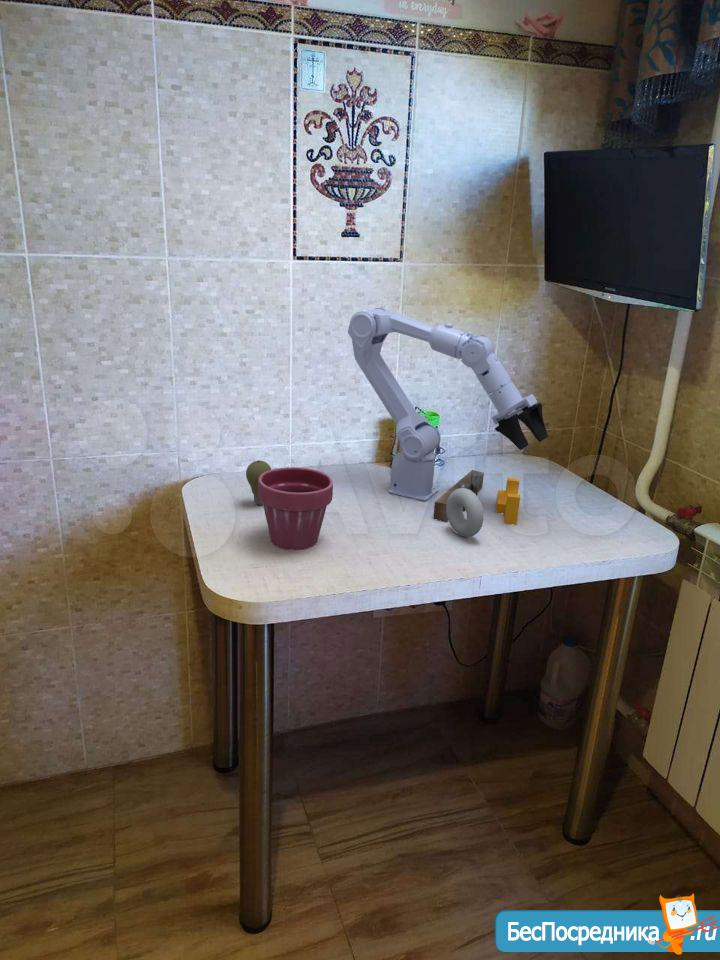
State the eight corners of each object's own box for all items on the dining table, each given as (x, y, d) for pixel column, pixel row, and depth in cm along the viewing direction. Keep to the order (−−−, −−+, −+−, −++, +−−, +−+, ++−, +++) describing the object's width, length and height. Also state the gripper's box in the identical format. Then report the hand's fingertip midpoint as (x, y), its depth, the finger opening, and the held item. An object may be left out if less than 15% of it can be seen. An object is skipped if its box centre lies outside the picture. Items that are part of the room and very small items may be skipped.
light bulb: (244, 500, 156) (243, 457, 153) (269, 498, 158) (269, 456, 155) (248, 510, 151) (248, 466, 148) (274, 508, 153) (274, 464, 150)
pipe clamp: (496, 503, 163) (499, 476, 161) (515, 505, 162) (519, 478, 160) (495, 523, 152) (499, 495, 150) (516, 525, 151) (520, 497, 149)
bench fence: (433, 518, 152) (435, 492, 150) (470, 485, 172) (472, 462, 170) (452, 523, 150) (454, 497, 148) (487, 489, 170) (490, 465, 168)
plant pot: (345, 540, 140) (348, 479, 135) (295, 564, 129) (296, 498, 125) (294, 519, 148) (295, 461, 144) (242, 539, 138) (242, 477, 133)
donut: (440, 527, 148) (445, 482, 144) (453, 524, 150) (458, 480, 146) (470, 546, 140) (476, 499, 136) (484, 543, 142) (490, 496, 138)
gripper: (531, 368, 144) (567, 425, 144) (497, 390, 157) (529, 442, 157) (506, 384, 141) (542, 442, 141) (473, 404, 155) (506, 457, 155)
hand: (534, 443), depth 149 cm, fingers open, 7 cm apart
